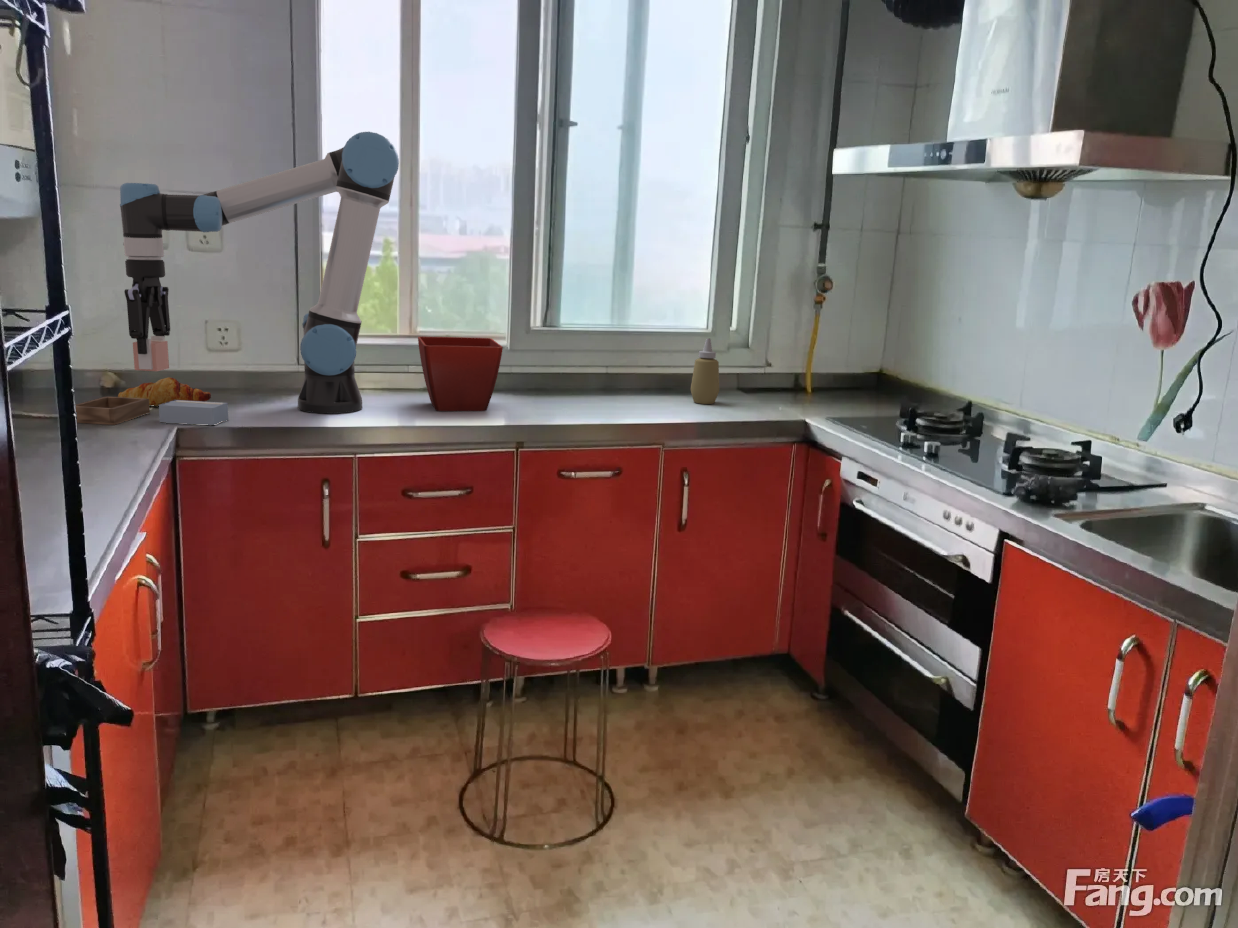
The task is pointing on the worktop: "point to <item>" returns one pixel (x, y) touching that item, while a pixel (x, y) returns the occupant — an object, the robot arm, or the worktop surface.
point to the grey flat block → (193, 412)
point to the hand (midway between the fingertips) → (153, 367)
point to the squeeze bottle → (705, 376)
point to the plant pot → (460, 371)
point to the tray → (111, 410)
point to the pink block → (154, 355)
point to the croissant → (165, 392)
